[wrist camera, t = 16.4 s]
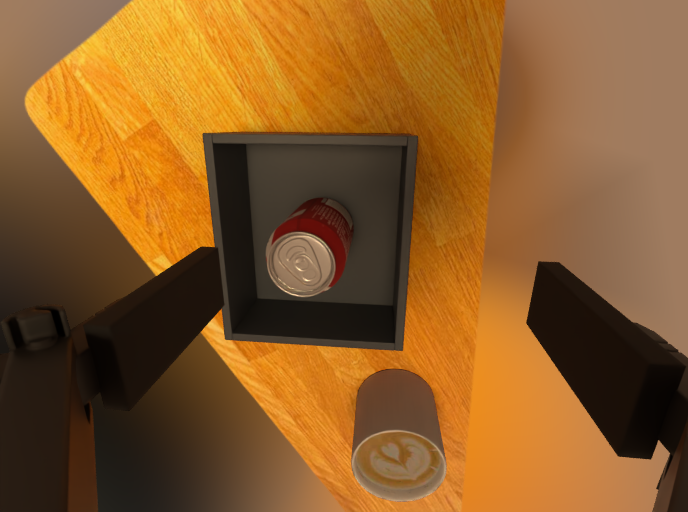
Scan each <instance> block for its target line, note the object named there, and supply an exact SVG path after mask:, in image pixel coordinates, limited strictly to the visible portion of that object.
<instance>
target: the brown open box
mask: <svg viewBox="0 0 688 512" xmlns="http://www.w3.org/2000/svg"><path fill="white" fill-rule="evenodd" d="M203 143H204V152H205V161H206V170H207V179H208V188H209V197H210V206H211V216H212V225H213V234H214V243H215V247H218V251H219V260H220V269H221V278H222V287H223V296H224V304H225V305H224V306H223V307H222V315H223V325H224V334H225V340H236V341H252V342H268V343H284V344H300V345H316V346H331V347H347V348H363V349H379V350H396V351H403V341H404V327H405V313H406V299H407V285H408V272H409V258H410V244H411V230H412V216H413V202H414V188H415V174H416V160H417V146H418V136H416V135H412V134H387V133H302V132H223V133H203ZM319 197H324V198H330V199H333V200H335V201H337V202H339V203H340V204H341V205H343V206H344V207H345V208H346V210H347V211H348V212H349V214H350V216H351V218H352V221H353V226H354V232H353V238H352V242H351V245H350V249H349V253H348V257H347V261H346V264H345V268H344V271H343V273H342V276H341V277H340V279H339V280H338V281H337V283H336V284H335V285H334V286H332V287H331V288H330V289H328V290H326V291H324V292H322V293H319V294H317V295H314V296H310V297H297V296H293V295H290V294H288V293H286V292H284V291H283V290H281V289H280V288H279V287H278V286H277V285H276V284H275V283H274V282H273V280H272V279H271V277H270V275H269V272H268V268H267V261H266V247H267V243H268V240H269V238H270V236H271V235H272V233H273V232H274V231H275V230H276V229H277V228H278V227H279V226H280V225H281V224H282V223H283V222H284V221H285V220H286V219H287V218H288V217H289V216H290V215H291V214H292V213H293V212H294V211H295V210H296V209H297V208H298V207H299V206H300V205H301V204H303V203H304V202H306V201H308V200H310V199H313V198H319Z"/></svg>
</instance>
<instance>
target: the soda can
mask: <svg viewBox="0 0 688 512" xmlns="http://www.w3.org/2000/svg"><path fill="white" fill-rule="evenodd" d="M353 232H354V226H353V221H352V218H351V216H350V214H349V212H348V211H347V210H346V208H345V207H344V206H343V205H341V204H340V203H339V202H337V201H335V200H333V199H330V198H324V197H319V198H313V199H310V200H308V201H306V202H304V203H303V204H301V205H300V206H299V207H298V208H297V209H296V210H295V211H294V212H293V213H292V214H291V215H290V216H289V217H288V218H287V219H286V220H285V221H284V222H283V223H282V224H281V225H280V226H279V227H278V228H277V229H276V230H275V231H274V232H273V233H272V235H271V236H270V238H269V240H268V243H267V247H266V261H267V268H268V272H269V275H270V277H271V279H272V280H273V282H274V283H275V284H276V285H277V286H278V287H279V288H280V289H281V290H283V291H284V292H286V293H288V294H290V295H293V296H297V297H310V296H314V295H317V294H319V293H322V292H324V291H326V290H328V289H330V288H331V287H332V286H334V285H335V284H336V283H337V281H338V280H339V279H340V277H341V276H342V273H343V271H344V268H345V264H346V261H347V257H348V253H349V249H350V245H351V242H352V238H353Z"/></svg>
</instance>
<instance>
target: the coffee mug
mask: <svg viewBox="0 0 688 512" xmlns="http://www.w3.org/2000/svg"><path fill="white" fill-rule="evenodd" d="M351 464H352V471H353V474H354V476H355V478H356V480H357V481H358V483H359V484H360V485H361V486H362V487H363V488H364V489H366V490H367V491H368V492H370V493H371V494H373V495H375V496H377V497H379V498H382V499H386V500H390V501H397V502H406V501H414V500H417V499H421V498H424V497H426V496H428V495H429V494H431V493H433V492H434V491H435V490H436V489H437V488H438V487H439V486H440V485H441V483H442V482H443V480H444V478H445V475H446V459H445V453H444V448H443V443H442V438H441V432H440V427H439V422H438V416H437V411H436V406H435V401H434V396H433V392H432V390H431V388H430V387H429V385H428V384H427V383H426V382H425V381H424V380H423V379H422V378H421V377H419V376H418V375H416V374H414V373H412V372H409V371H405V370H400V369H389V370H383V371H380V372H377V373H375V374H373V375H371V376H370V377H368V378H367V379H366V380H365V381H364V382H363V383H362V385H361V387H360V388H359V391H358V395H357V404H356V415H355V426H354V436H353V447H352V460H351Z"/></svg>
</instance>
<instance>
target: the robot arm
mask: <svg viewBox="0 0 688 512" xmlns="http://www.w3.org/2000/svg"><path fill="white" fill-rule="evenodd" d="M224 305H225V304H224V296H223V287H222V278H221V269H220V260H219V251H218V247H200V248H198V249H197V250H195V251H194V252H192V253H191V254H189V255H188V256H186V257H185V258H183V259H182V260H180V261H179V262H177V263H176V264H174V265H173V266H171V267H170V268H168V269H167V270H165V271H164V272H162V273H161V274H159V275H157V276H156V277H154V278H153V279H152V280H150V281H148V282H147V283H145V284H144V285H143V286H141V287H140V288H138V289H136V290H135V291H134V292H132V293H130V294H129V295H127V296H126V297H123V298H121V299H118V300H116V301H114V302H113V303H111V304H110V305H108V306H107V307H105V308H104V309H102V310H101V311H99V312H97V313H96V314H95V316H91V317H90V318H88V319H87V320H85V321H84V322H82V323H80V324H79V325H77V326H76V327H74V328H73V329H71V330H70V327H69V324H68V320H67V316H66V313H65V309H64V308H63V306H60V305H48V304H47V305H40V306H35V307H30V308H27V309H23V310H20V311H18V312H15V313H13V314H11V315H9V316H8V317H6V318H4V319H3V321H2V322H1V326H2V329H3V332H4V335H5V337H6V340H7V343H8V346H9V349H10V353H6V354H0V512H98V504H97V484H96V464H95V445H94V425H93V410H92V407H91V403H90V401H91V400H92V399H93V398H94V397H95V396H96V395H97V394H98V393H99V392H100V393H101V396H102V400H103V404H104V408H105V409H114V410H125V411H130V410H131V409H132V408H133V406H134V405H135V404H136V403H137V402H138V401H139V400H140V399H141V398H142V396H143V395H144V394H145V393H146V392H147V391H148V390H149V389H150V388H151V386H152V385H153V384H154V383H155V382H156V381H157V380H158V379H159V377H160V376H161V375H162V374H163V373H164V372H165V371H166V370H167V369H168V368H169V366H170V365H171V364H172V363H173V362H174V361H175V360H176V359H177V357H178V356H179V355H180V354H181V353H182V352H183V351H184V349H186V347H187V346H188V345H189V344H190V343H191V342H192V341H193V339H194V338H195V337H196V336H197V335H198V334H199V333H200V332H201V331H202V330H203V329H204V327H205V326H206V325H207V324H208V323H209V322H210V321H211V320H212V318H213V317H214V316H215V315H216V314H217V313H218V312H219V311H220V310H221V308H222V307H223V306H224ZM526 323H527V325H528V326H529V328H530V329H531V330H532V332H533V334H534V335H535V337H536V338H537V339H538V341H539V342H540V344H541V345H542V347H543V348H544V349H545V351H546V353H547V354H548V355H549V357H550V358H551V360H552V361H553V363H554V364H555V366H556V367H557V368H558V370H559V371H560V373H561V374H562V376H563V377H564V379H565V380H566V381H567V383H568V384H569V386H570V387H571V389H572V390H573V392H574V393H575V395H576V396H577V397H578V399H579V400H580V402H581V403H582V405H583V406H584V407H585V409H586V410H587V412H588V413H589V415H590V416H591V418H592V419H593V420H594V422H595V423H596V425H597V426H598V428H599V429H600V431H601V432H602V434H603V435H604V436H605V438H606V440H607V441H608V442H609V444H610V445H611V447H612V448H613V450H614V451H615V453H616V454H617V455H618V456H619V457H630V458H640V459H641V458H642V459H651V458H652V456H653V453H654V450H655V448H656V445H657V442H658V440H659V441H660V442H661V443H662V444H663V445H664V447H665V448H666V449H667V450H668V451H669V452H670V455H669V458H668V460H667V463H666V465H665V468H664V470H663V473H662V475H661V478H660V480H659V483H658V486H657V488H656V489H658V494H657V497H656V501H655V505H654V508H653V511H652V512H688V358H687V357H686V356H685V355H683V354H682V353H679V352H678V350H677V349H676V348H674V347H673V346H672V345H671V344H668V342H667V341H666V340H664V339H663V338H662V337H660V336H659V335H658V334H657V333H655V332H654V331H652V330H650V329H648V328H646V327H644V326H642V325H640V324H638V323H633V322H631V321H630V320H629V319H628V318H626V317H625V316H624V315H623V314H622V313H620V312H619V311H618V310H617V309H615V308H614V307H613V306H612V305H610V304H609V303H608V302H607V301H606V300H604V299H603V298H602V297H601V296H599V295H598V294H597V293H596V292H595V291H593V290H592V289H591V288H590V287H588V286H587V285H586V284H585V283H584V282H582V281H581V280H580V279H579V278H577V277H576V276H575V275H574V274H573V273H571V272H570V271H569V270H568V269H566V268H565V267H564V266H563V265H561V264H560V263H559V262H538V266H537V272H536V276H535V282H534V287H533V292H532V297H531V302H530V307H529V312H528V317H527V322H526Z"/></svg>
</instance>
